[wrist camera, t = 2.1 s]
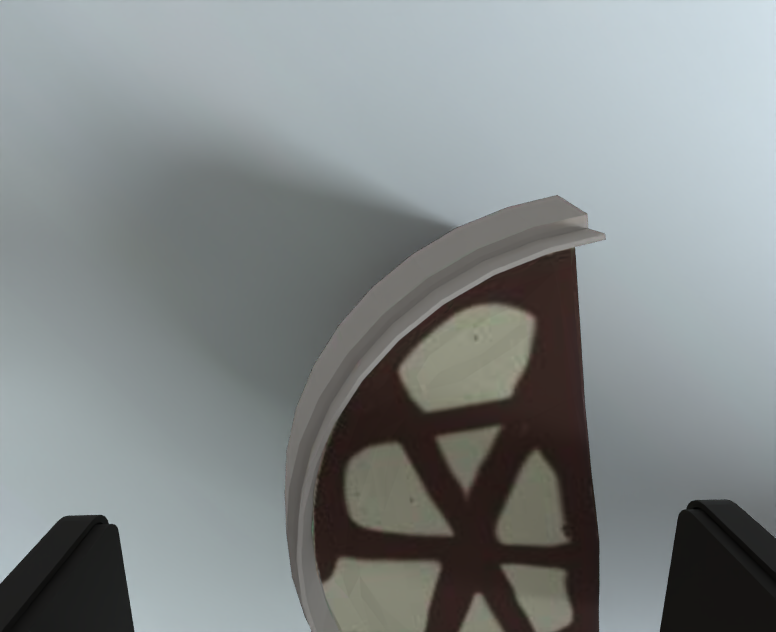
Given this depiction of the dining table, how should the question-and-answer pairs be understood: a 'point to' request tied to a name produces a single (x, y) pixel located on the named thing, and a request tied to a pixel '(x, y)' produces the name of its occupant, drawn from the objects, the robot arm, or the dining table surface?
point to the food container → (452, 442)
